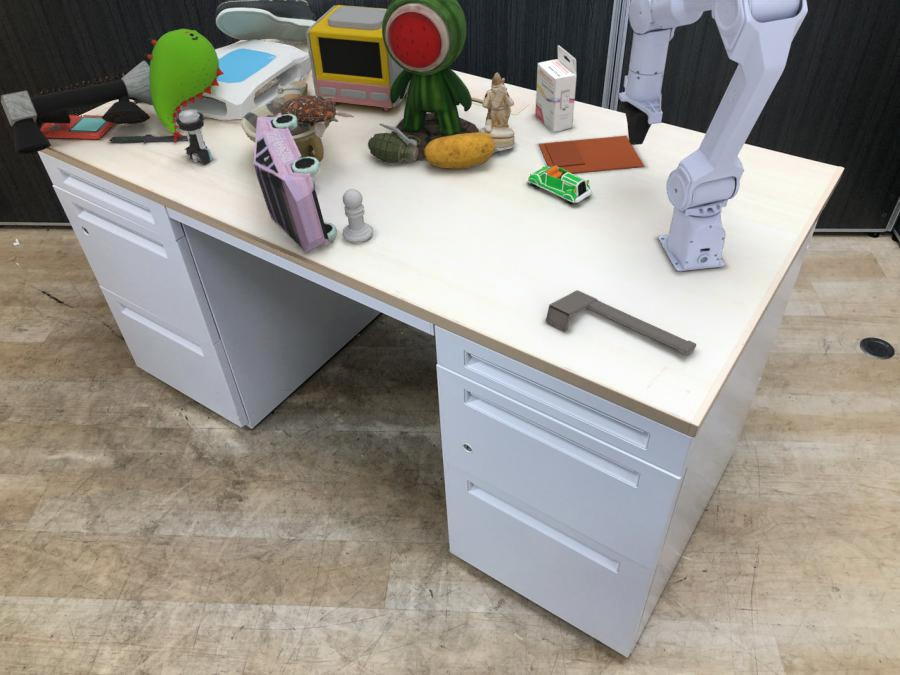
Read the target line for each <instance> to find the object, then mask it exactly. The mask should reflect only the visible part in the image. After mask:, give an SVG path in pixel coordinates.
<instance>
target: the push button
mask: <svg viewBox="0 0 900 675" xmlns="http://www.w3.org/2000/svg"><path fill="white" fill-rule="evenodd" d="M204 120H205V117H204V116H203V114H201V113H198V111H196V110H192V109H190V110H185V111H182V110H181V112H179V113H178V116H177V117H175V121H176V122H175V124H176V126H178V128H179V130H180V131H182V132H185V133H186V136H187V137H188V139H187V140H188V146H187V147H185V148H183V150H184V151H186V152H185V153H184V154H185V155H187V156H188V157H189V158H190V160H192V161H193V162H194V163H201V164H202V165H203V166H205V165H207V164H208V163H210V162H212V161H213V157H212V153H211V149H210V148H208V146H207V145H206V141H205V140H204V137H203V133H202V128H203V127H204V126H205V121H204Z"/></svg>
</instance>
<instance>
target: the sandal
mask: <svg viewBox="0 0 900 675" xmlns="http://www.w3.org/2000/svg"><path fill="white" fill-rule="evenodd" d="M308 85H309V84H308V83H307V82H306V81H304V80H302V81H294V82H292V83H291V84H290V85H289V86H286V85H283V84H279V86H278V87H277V90H276V97H277V98H280V97H283V98H285V99H286V101H288V100H291V99H294V98H296V97H300V96H304V95H309V94H308V92H309V91H308V87H309V86H308Z"/></svg>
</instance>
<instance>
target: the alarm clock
mask: <svg viewBox="0 0 900 675" xmlns="http://www.w3.org/2000/svg"><path fill="white" fill-rule="evenodd" d="M386 11H387V8H382V7H381V8H380V7H368V6H356V5H343V4H335V5H333V6H331V7H330V8H329V9H328V10H327V11H326V12H325V13H324V14H323V15H322V16H320V17H319V18H317V21H316V22H315V23H314V24H313V25H312V26H311V27H309V28H308V29H307V31H306V38H307V41H306V44H307V51H308V54H309V57H310V63H311V76H312V81H313V88H314V93H315V94H314V95H315V96H316V97H319V96H322V97H326V96H331V97H336V98H332V99H326V101H327V102H331V105H333V106H336V105H337V103H343V104H351V105H361V106H370V107H377V108H378V107H379V108H383V110H384V111H386V112H387V111H389V109H392V108H395V107H397V106H398V105H399V104H400V103H401V101H402V100H401V99H400V96H399V98H398V99H397V101H396V102H395V103H392V102H391V100H390V90H391V87H392V85H393V83H394V81H395V80H396V78H397V77H398V75H399V74H400V73H401V72H402V71H403V70H404V69H403V68H401V67H400V66H399V65H398V64H397V63H396V62H395V61H394V60H393V59H392V58H391V56H390V55H389V53H388V51H387V49H386V47H385V44H384V41H383V36H382V23H383V18H384V15H385V13H386ZM409 84H410V82H409ZM409 84H408V86H407V88H406V91H405V94H404V97H405V95H407V93H408V88H409Z"/></svg>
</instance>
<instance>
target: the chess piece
mask: <svg viewBox="0 0 900 675" xmlns="http://www.w3.org/2000/svg"><path fill="white" fill-rule="evenodd" d="M363 199H364V198H363V194H362V193H361V192H360V191H359V190H358V189H356V188H349V189H347V190H345V192H344V193H343V195H342V204H343V205H344V215H345V216H346V218H347V223H348V224H347V225H346V226H345V227H343V229H342V232H341V233H342V237H343V239H344V240H345V241H346V242H351V243H363V242H365V241H368V240H369V239H370V238H372V236H373V235H374V229H373V227H372V225H370V224H369V223H367V222H365V219H364V215H365V213H366V212H365V206H364V204H363Z"/></svg>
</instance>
